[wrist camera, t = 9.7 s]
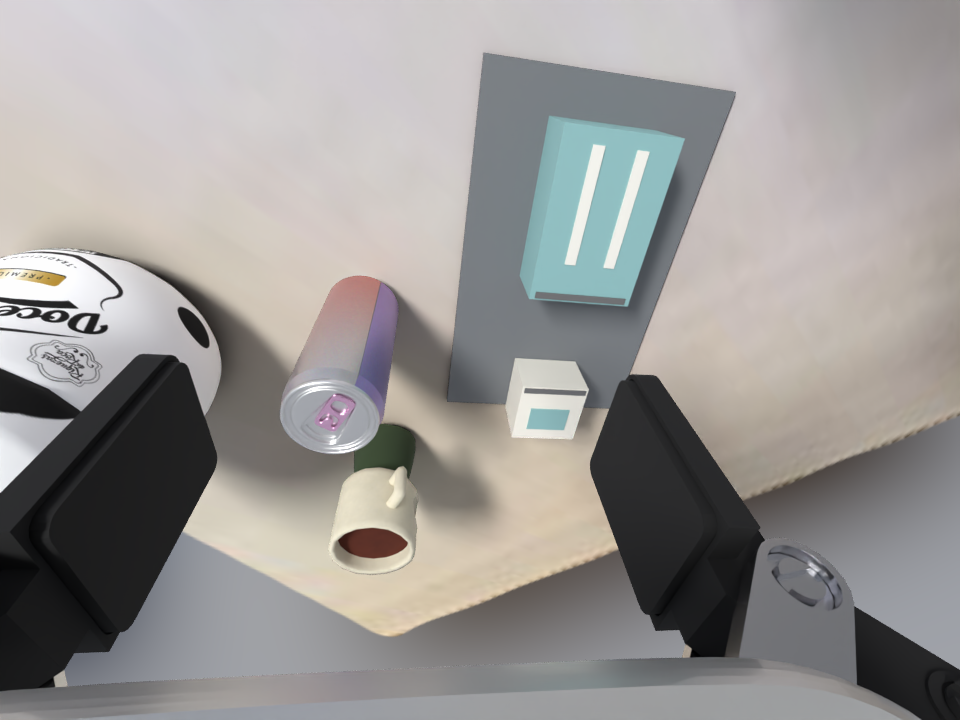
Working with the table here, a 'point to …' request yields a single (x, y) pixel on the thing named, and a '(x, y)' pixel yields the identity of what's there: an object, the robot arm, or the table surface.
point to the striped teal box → (595, 210)
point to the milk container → (84, 341)
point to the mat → (507, 209)
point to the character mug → (377, 507)
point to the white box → (545, 398)
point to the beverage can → (343, 369)
